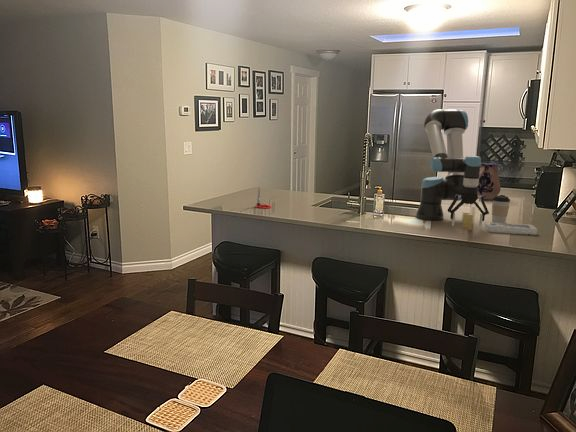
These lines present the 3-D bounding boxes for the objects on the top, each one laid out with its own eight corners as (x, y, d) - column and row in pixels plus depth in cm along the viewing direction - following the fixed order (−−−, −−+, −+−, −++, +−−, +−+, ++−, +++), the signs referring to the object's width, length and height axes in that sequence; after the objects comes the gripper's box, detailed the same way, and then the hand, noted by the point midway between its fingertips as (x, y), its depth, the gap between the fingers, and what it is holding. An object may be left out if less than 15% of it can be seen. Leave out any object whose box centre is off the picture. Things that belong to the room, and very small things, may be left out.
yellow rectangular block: (462, 229, 251) (463, 214, 250) (461, 227, 256) (462, 212, 254) (471, 229, 251) (473, 214, 249) (470, 227, 255) (471, 213, 253)
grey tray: (488, 232, 246) (488, 226, 246) (484, 227, 256) (485, 221, 255) (536, 235, 242) (537, 229, 241) (531, 230, 251) (532, 224, 251)
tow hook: (273, 207, 301) (259, 205, 304) (274, 187, 298) (260, 185, 301) (268, 210, 294) (254, 208, 296) (269, 189, 291) (255, 187, 293)
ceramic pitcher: (469, 199, 339) (473, 163, 333) (477, 195, 356) (480, 161, 350) (496, 202, 329) (500, 165, 324) (502, 197, 346) (506, 163, 341)
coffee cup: (506, 225, 262) (509, 198, 259) (488, 222, 267) (491, 196, 264) (508, 222, 270) (511, 195, 266) (491, 219, 274) (494, 193, 271)
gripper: (446, 186, 247) (442, 226, 252) (497, 188, 242) (493, 229, 247) (444, 183, 254) (441, 223, 259) (494, 186, 249) (490, 226, 254)
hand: (466, 226), depth 253 cm, fingers open, 13 cm apart
